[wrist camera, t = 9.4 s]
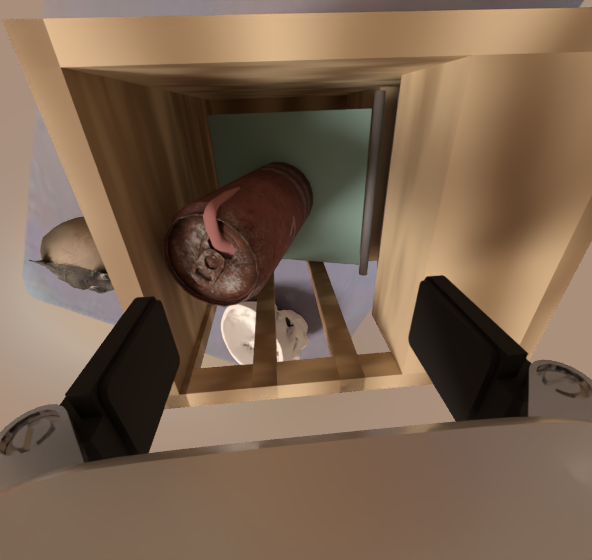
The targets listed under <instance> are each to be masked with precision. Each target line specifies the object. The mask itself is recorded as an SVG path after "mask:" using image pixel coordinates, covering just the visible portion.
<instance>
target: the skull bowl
mask: <svg viewBox="0 0 592 560" xmlns="http://www.w3.org/2000/svg"><path fill="white" fill-rule="evenodd" d="M256 306H257V302H241V303H239V304H237V305H232V306H228V307H227V309H226V310H225V312H224V314H223V317H222V321H221V331H222V336H223V339H224V341H225V344H226V346H227V348H228V350H229V352H230V353H231V355H232V356H233V358H234V359H235V360H236V361H237V362H238V363H239V364H241V365H246V364H253V355H254V339H255V322H256ZM275 314H276V342H277V362H281V361H290V360H292V359H300V350H301V349H303V348H305V347H306V346H307V345H308V343H309V342H308V341H309V340H308V337H307V334H306V333H307V330H308V325H307V323H306V322H305V320H304V319H303V317H302V316H300V315H299V314H297V313H295V312H294V311H292V310H281V311H278V310H277V305H276V304H275ZM286 317H288V319H289V321H290V324H291V325H292V324H293V325H294V326H290V327H288V326H287V324H286Z"/></svg>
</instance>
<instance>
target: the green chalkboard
mask: <svg viewBox="0 0 592 560" xmlns="http://www.w3.org/2000/svg"><path fill="white" fill-rule="evenodd" d="M399 93H400V92H399ZM399 93H398V97H397V105H396V113H395V122H394V130H393V138H392V146H391V154H390V163H389V171H388V179H387V187H386V195H385V203H384V212H383V220H382V228H381V236H380V244H379V252H378V261H379V253H380V245H381V237H382V229H383V221H384V213H385V205H386V197H387V189H388V181H389V173H390V165H391V157H392V149H393V141H394V133H395V125H396V117H397V109H398V101H399ZM385 96H386V91H375V95H374V107H373V118H372V129H371V141H370V152H369V164H368V175H367V186H366V198H365V209H364V220H363V208H364V196H365V185H366V173H367V162H368V150H369V138H370V127H371V115H372V109H348V110H323V111H298V112H272V113H247V114H222V115H208V121H209V127H210V133H211V139H212V145H213V151H214V157H215V163H216V169H217V175H218V181H219V188H221V187H223V186H225V185H227V184H229V183H230V182H232V181H234V180H236V179H238V178H240V177H242V176H244V175H246V174H248V173H250V172H252V171H254V170H256V169H258V168H260V167H262V166H264V165H266V164H269V163H272V162H285V163H287V164H290V165H293V166H295V167H296V168H297V169H299V170H300V171H301V172H302V173H303V174H304V175H305V177H306V178H307V179H308V181H309V182H310V185H311V189H312V192H313V206H312V209H311V212H310V215H309V216H308V218H307V219H306V221H305V222H304V224H303V226H302V227H301V229H300V230H299V232H298V234H297V235H296V237H295V238H294V240H293V242H292V243H291V245H290V246H289V248H288V250H287V251H286V253H285V254H284V256H283V258H282V259H293V260H305V261H318V262H331V263H343V264H356V265H359V255H360V243H361V231H362V220H363V232H362V243H361V255H360V266H359V274H360V275H367V269H368V259H369V250H370V240H371V231H372V221H373V211H374V202H375V192H376V183H377V173H378V163H379V154H380V144H381V135H382V125H383V116H384V106H385ZM378 261H377V269H378Z"/></svg>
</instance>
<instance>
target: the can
mask: <svg viewBox="0 0 592 560" xmlns="http://www.w3.org/2000/svg"><path fill="white" fill-rule="evenodd" d="M312 206H313V192H312V189H311V185H310V182H309V181H308V179H307V178H306V177H305V175H304V174H303V173H302V172H301V171H300V170H299V169H297V168H296V167H295V166H293V165H290V164H287V163H285V162H272V163H269V164H266V165H264V166H262V167H260V168H258V169H256V170H254V171H252V172H250V173H248V174H246V175H244V176H242V177H240V178H238V179H236V180H234V181H232V182H230V183H229V184H227V185H225V186H223V187H221V188H219V189H217V190H215V191H213V192H211V193H209V194H207V195H205V196H203V197H201V198H199V199H197V200H195V201H193V202H192V203H190V204H188V205H186V206H184V207H183V208H181V209H180V210H179V211H178V212H177V213H176V214H175V215H174V216H173V217H172V220H171V222H170V224H169V227H168V228H167V231H166V233H165V235H164V238H163V256H164V260H165V263H166V267H167V268H168V270H169V272H170V273H171V275H172V277H173V279H174V280H175V281H176V282H177V283H178V284H179V285H180V286H181V287H182V289H183V290H184V291H186V292H187V293H188V294H190V295H191V296H193V297H194V298H196V299H197V300H200V301H202V302H205V303H207V304H210V305H215V306H223V307H226V306H232V305H237V304H239V303H241V302H243V301H247V300H248V299H250V298H252V297H254V296H255V295H257V294H258V293H259V292H260V291H261V289H262V288H263V287H264V286H265V284H266V283H267V281H268V280H269V278H270V277H271V275H272V273H273V272H274V270H275V269H276V267H277V265H278V264H279V262H280V261H281V259H282V258H283V256H284V254H285V253H286V251H287V250H288V248H289V246H290V245H291V243H292V242H293V240H294V238H295V237H296V235H297V234H298V232H299V230H300V229H301V227H302V226H303V224H304V222H305V221H306V219H307V218H308V216H309V215H310V212H311V209H312Z"/></svg>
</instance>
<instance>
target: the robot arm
mask: <svg viewBox="0 0 592 560" xmlns="http://www.w3.org/2000/svg"><path fill="white" fill-rule="evenodd" d="M408 340H409V345H410V347H411V348H412V350H413V352H414V353H415V355H416V357H417V358H418V360H419V361H420V363H421V365H422V366H423V368H424V370H425V371H426V373H427V375H428V376H429V378H430V380H431V381H432V383H433V384H434V386H435V388H436V389H437V391H438V393H439V394H440V396H441V398H442V399H443V401H444V403H445V404H446V406H447V408H448V409H449V411H450V412H451V414H452V416H453V417H454V419H455V421H456V422H446V423H435V424H426V425H415V426H404V427H393V428H383V429H373V430H363V431H353V432H343V433H333V434H323V435H314V436H303V437H293V438H284V439H274V440H264V441H255V442H245V443H236V444H227V445H217V446H208V447H199V448H189V449H181V450H172V451H163V452H156V453H149V450H150V447H151V445H152V442H153V439H154V436H155V433H156V430H157V428H158V425H159V422H160V419H161V416H162V413H163V410H164V408H165V405H166V402H167V399H168V396H169V394H170V391H171V388H172V385H173V382H174V379H175V376H176V374H177V371H178V368H179V365H180V356H179V353H178V350H177V347H176V343H175V340H174V337H173V334H172V331H171V328H170V325H169V322H168V319H167V316H166V313H165V310H164V307H163V304H162V302H161V300H157V299H156V298H155V297H154V296H149V297H137V298H135V299H134V300H133V301H132V303H131V304H130V305H129V307H128V308H127V310H126V311H125V312H124V314H123V315H122V316H121V318H120V319H119V321H118V322H117V323H116V325H115V326H114V328H113V329H112V331H111V332H110V333H109V335H108V336H107V337H106V339H105V340H104V341H103V343H102V344H101V346H100V347H99V349H98V350H97V351H96V353H95V354H94V356H93V357H92V358H91V360H90V361H89V362H88V364H87V365H86V367H85V368H84V369H83V371H82V372H81V373H80V375H79V376H78V377H77V379H76V380H75V382H74V383H73V384H72V386H71V387H70V389H69V390H68V391H67V393H66V394H65V396H66V397H65V399H64V400H63V401H62V403H61V404H60V405H57V404H52V405H45V406H41V407H38V408H35V409H33V410H30V411H28V412H26V413H25V414H23V415H21V416H20V417H18V418H16V419H15V420H14V421H12V422H11V423H10V424H9V425H7V426H6V427H5V428H4V429H3V430H2V431H1V432H0V560H592V380H591V379H590V378H588V377H587V376H586V375H585V374H583V373H582V372H580V371H578V370H576V369H575V368H573V367H570V366H568V365H565V364H563V363H559V362H556V361H551V360H538V361H535V362H533V363H532V364H531V363H530V362H529V361H528V360H527V359H526V357H527V355H528V354H529V353H527V352H526V351H525V350H524V349H523V348H522V347H521V346H520V345H519V344H518V343H517V342H516V341H514V340H513V339H512V338H511V337H510V336H509V335H508V334H507V333H506V332H505V331H504V330H503V329H501V328H500V327H499V326H498V325H497V324H496V323H495V322H494V321H493V320H492V319H491V318H490V317H489V316H487V315H486V314H485V313H484V312H483V311H482V310H481V309H480V308H479V307H478V306H477V305H476V304H474V303H473V302H472V301H471V300H470V299H469V298H468V297H467V296H466V295H465V294H464V293H463V292H461V291H460V290H459V289H458V288H457V287H456V286H455V285H454V284H453V283H452V282H451V281H450V280H449V279H447V278H446V277H445V276H444V275H439V276H427V277H426V278H425V279H424V281H421V282H420V285H419V289H418V294H417V299H416V303H415V308H414V313H413V317H412V322H411V327H410V331H409V336H408Z"/></svg>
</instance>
